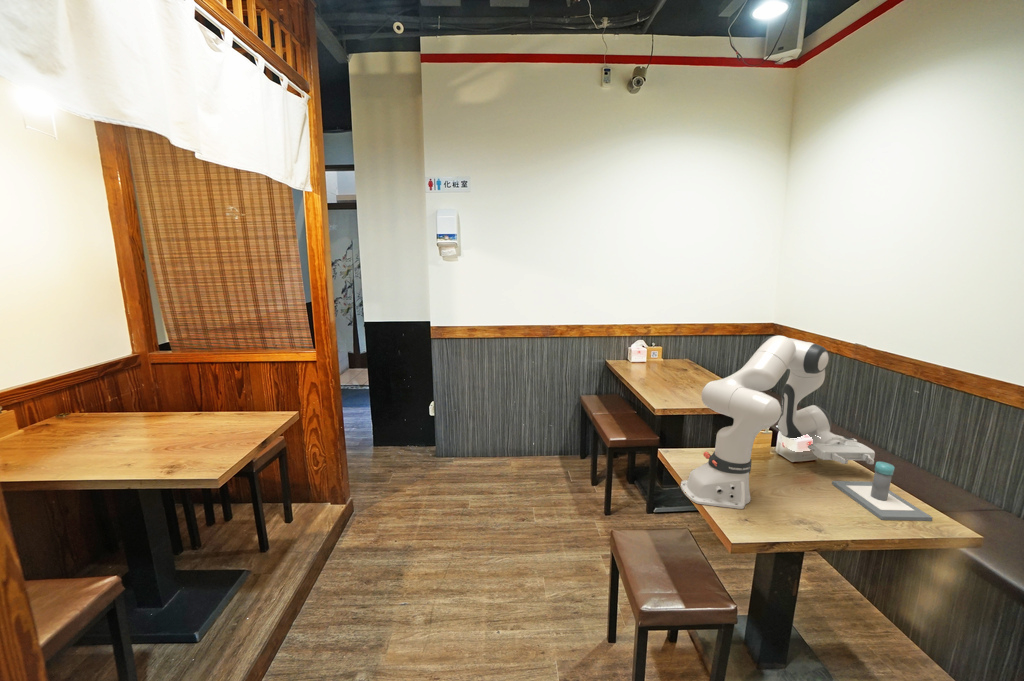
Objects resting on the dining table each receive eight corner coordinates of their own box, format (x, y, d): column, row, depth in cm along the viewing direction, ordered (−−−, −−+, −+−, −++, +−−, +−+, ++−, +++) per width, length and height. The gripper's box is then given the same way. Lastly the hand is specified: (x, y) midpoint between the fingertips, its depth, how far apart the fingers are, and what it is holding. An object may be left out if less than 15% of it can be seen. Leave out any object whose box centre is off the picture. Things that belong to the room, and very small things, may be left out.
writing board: (881, 519, 137) (882, 515, 137) (831, 483, 159) (832, 480, 159) (931, 520, 137) (932, 516, 137) (875, 484, 159) (876, 481, 158)
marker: (877, 501, 145) (883, 468, 143) (866, 493, 150) (872, 461, 148) (891, 501, 145) (898, 468, 143) (879, 493, 150) (886, 461, 148)
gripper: (806, 437, 170) (831, 453, 156) (858, 438, 170) (888, 454, 156) (803, 452, 171) (828, 469, 157) (855, 453, 171) (885, 470, 157)
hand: (858, 462), depth 157 cm, fingers open, 8 cm apart
